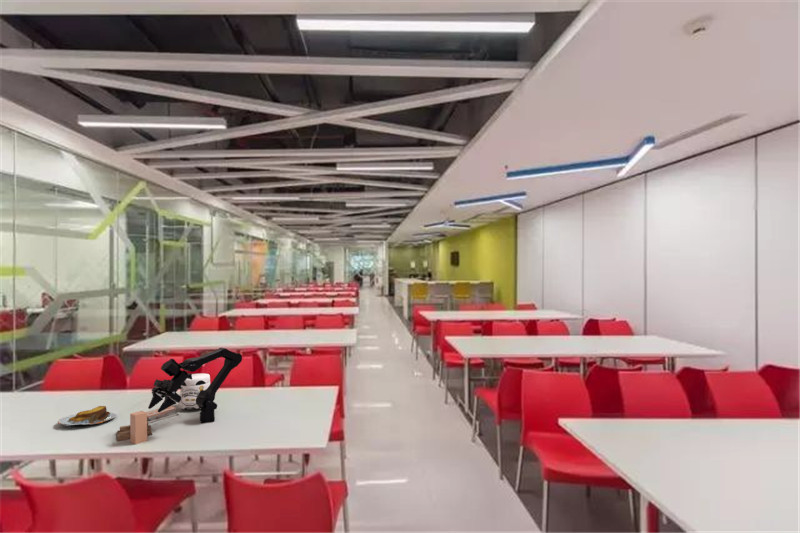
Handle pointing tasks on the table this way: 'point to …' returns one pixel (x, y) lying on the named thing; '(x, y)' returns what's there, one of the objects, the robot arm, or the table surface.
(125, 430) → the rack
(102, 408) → the food on plate
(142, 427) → the clay bar
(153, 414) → the packaged product
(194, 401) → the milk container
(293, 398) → the table surface
